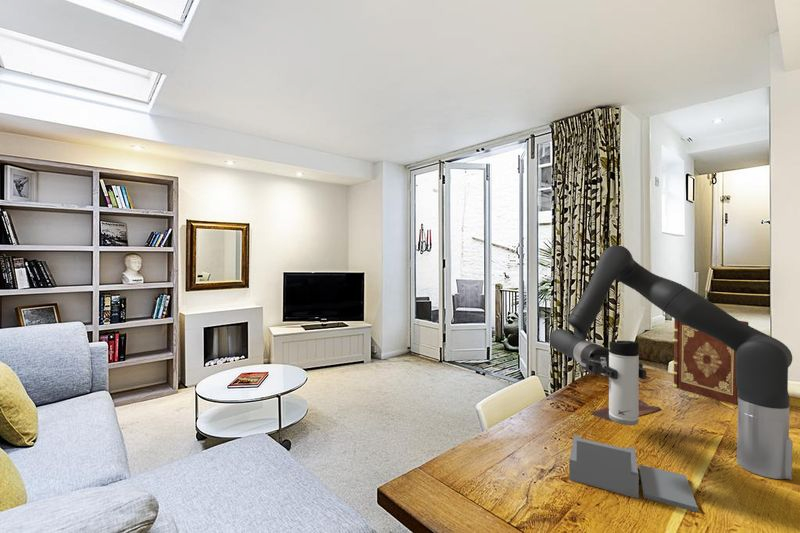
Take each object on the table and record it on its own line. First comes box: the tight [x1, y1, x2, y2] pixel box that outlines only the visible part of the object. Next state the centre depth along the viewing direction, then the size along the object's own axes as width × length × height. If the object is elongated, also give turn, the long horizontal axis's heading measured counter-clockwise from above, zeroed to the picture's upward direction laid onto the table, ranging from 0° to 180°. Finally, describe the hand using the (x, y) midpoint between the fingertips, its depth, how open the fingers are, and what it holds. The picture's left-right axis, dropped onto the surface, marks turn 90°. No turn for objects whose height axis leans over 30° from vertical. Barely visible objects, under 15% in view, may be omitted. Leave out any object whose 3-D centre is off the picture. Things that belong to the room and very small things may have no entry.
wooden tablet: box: [590, 399, 662, 423], centre depth 127 cm, size 26×2×10 cm
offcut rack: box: [568, 434, 640, 500], centre depth 90 cm, size 14×14×10 cm
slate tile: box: [638, 464, 699, 513], centre depth 84 cm, size 10×13×1 cm
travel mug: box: [608, 340, 640, 426], centre depth 89 cm, size 6×7×20 cm
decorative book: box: [672, 319, 749, 406], centre depth 143 cm, size 22×8×30 cm, turn 25°
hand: (630, 375), depth 87 cm, fingers closed on travel mug, 6 cm apart
